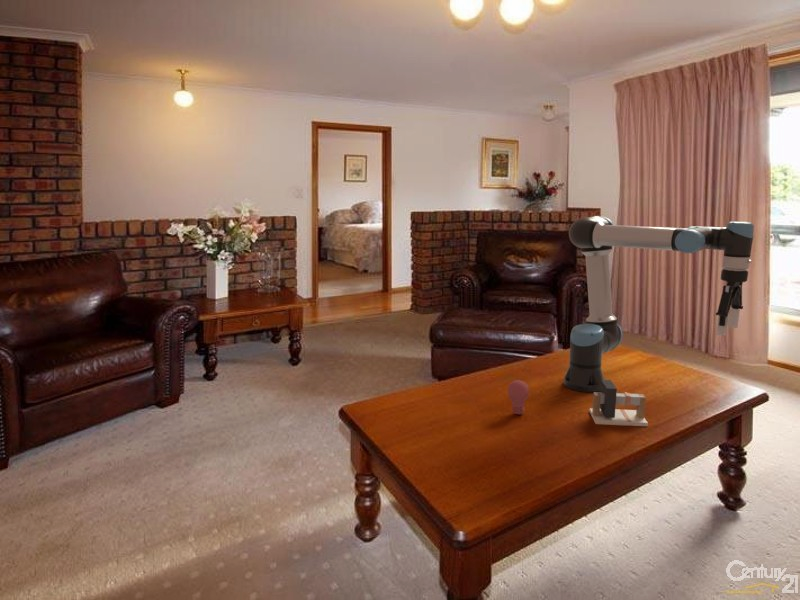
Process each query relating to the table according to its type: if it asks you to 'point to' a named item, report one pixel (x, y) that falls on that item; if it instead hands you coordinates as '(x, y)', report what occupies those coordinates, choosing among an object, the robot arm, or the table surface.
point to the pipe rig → (620, 410)
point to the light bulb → (518, 395)
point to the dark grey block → (608, 398)
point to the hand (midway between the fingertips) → (727, 331)
